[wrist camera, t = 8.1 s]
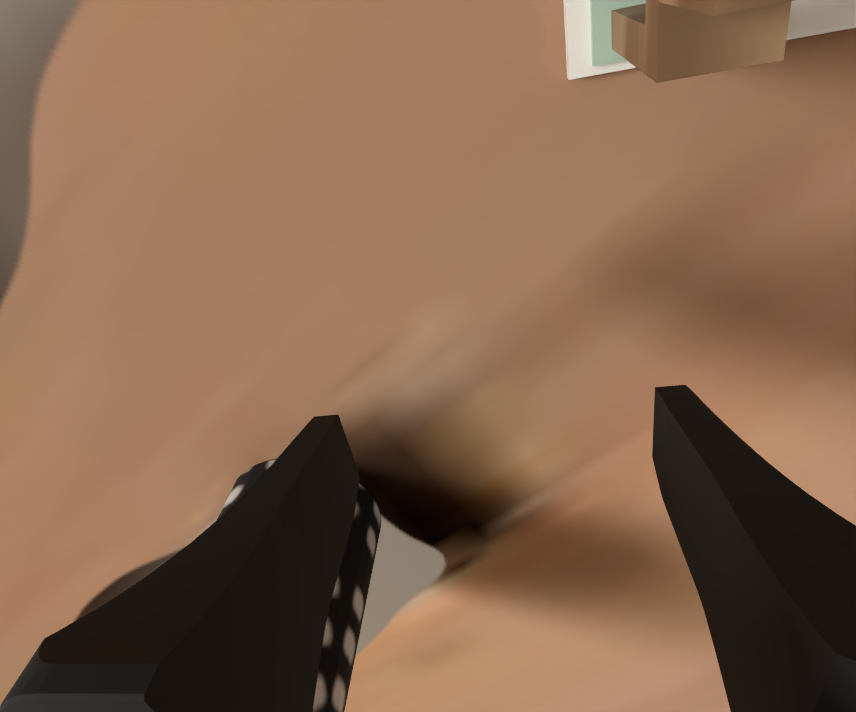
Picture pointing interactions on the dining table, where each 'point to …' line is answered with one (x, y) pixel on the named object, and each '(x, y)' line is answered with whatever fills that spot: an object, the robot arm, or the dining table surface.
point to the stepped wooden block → (700, 35)
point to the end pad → (605, 29)
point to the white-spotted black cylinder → (337, 594)
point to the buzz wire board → (809, 15)
